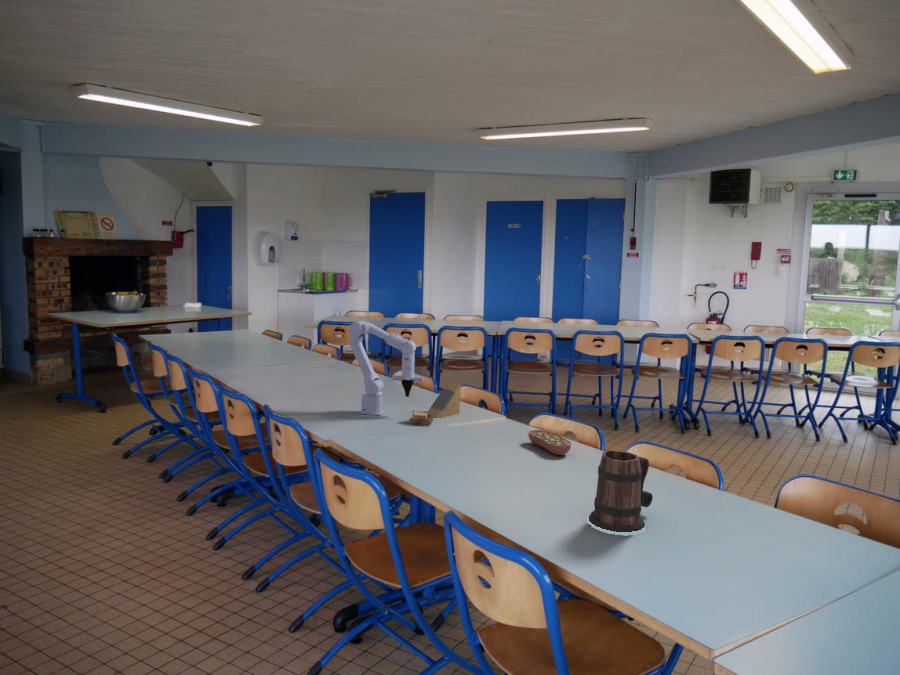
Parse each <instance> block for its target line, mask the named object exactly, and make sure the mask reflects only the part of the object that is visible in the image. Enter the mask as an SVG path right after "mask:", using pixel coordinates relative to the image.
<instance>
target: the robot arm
mask: <svg viewBox="0 0 900 675" xmlns="http://www.w3.org/2000/svg"><path fill="white" fill-rule="evenodd" d="M348 333H349V336H348V344H349V346H350V348H351V351H352V353H353V355H354V357H355V359H356V361H357V364H358V366H359V368H360V369H359V370H360V371H361V373H362V375H363V377H364V379H363V383H364V391H365V393H363V394H362V395H361V411H360V415H368V416H369V415H370V416H371V415H372V416H382V414H383V413H384V412H385V410H384V409H383V392H382V391H383V390H384V388H385V383H384V380H382V379H381V378H380V377H379V375H378V374H377V373H376V372H375V370H374V368H373V366H372V364H371V361H370V358H369V357H368V354H367V352H366V350H365V347H364V345H363V343H362V342H363V340H364V336H366V335H369V334H372V335H374V336H376V337H379V338H380V339H383V340H385V341H386V342H387V344H388V345H389V346H391V347H393V348H394V349H396V350H399V351H400V352H401V353H402V354H401V355H402V356H401V357H402V358H401V375H392V376H391V381H401V382H400V383H401V386H402V387H403V390H404V394H405V395H404V396H405V397H407V398H408V397H409V398H410V395H411V389H412V387H413V385H414V382H420V383H421V382H422V383H423V382H424V379H425V378H424V376H415V360H416V359H415V353H416V352H415V351H417V350H416V349H417V344H416V343H415V341H413V340H411V339H408V338H407V337H406V338H404V337H403V336H401V335H400V334H399V333H398V332H396V333H395V332H394V333H393V332H392V333H388V332H387V331H385V330H384V329H382V328H380V327H378V326H377V325H375V324H373V323H372V322H370V321H367V320H363V319H362V320H359V321H354V322H352V323H351V324H350V326H349V328H348Z"/></svg>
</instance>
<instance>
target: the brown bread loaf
mask: <svg viewBox="0 0 900 675" xmlns="http://www.w3.org/2000/svg"><path fill="white" fill-rule="evenodd" d="M527 434H528V438H529V440H530V442H531V443H533V445H536V446H538V447H541V448H542V449H545V450H546V451H548V452H550V453H551V454H553V455H554V454H555V456H558V455H561V456H565V455H566V454H568V453H569V452H570V450H571V447H572V442H570V441H569V440H567V439H566V438H564V437H563V436H561V435H558V434H555V433H554V432H550V431H547V430H539V429H536V430H535V429H533V430H530V431H528V433H527Z"/></svg>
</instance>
